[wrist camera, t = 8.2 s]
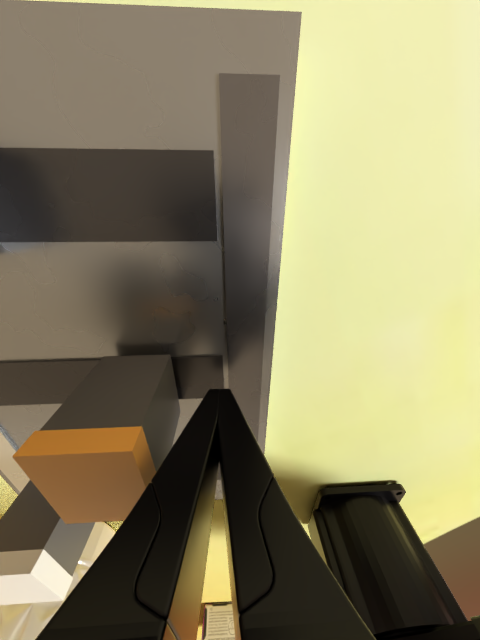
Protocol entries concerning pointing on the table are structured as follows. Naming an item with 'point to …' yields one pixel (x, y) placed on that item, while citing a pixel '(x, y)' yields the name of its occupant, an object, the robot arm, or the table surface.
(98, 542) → the white cup
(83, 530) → the block
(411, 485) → the table surface
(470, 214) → the table surface
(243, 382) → the panel
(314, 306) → the table surface
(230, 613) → the candy bar box
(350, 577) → the robot arm
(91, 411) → the block
